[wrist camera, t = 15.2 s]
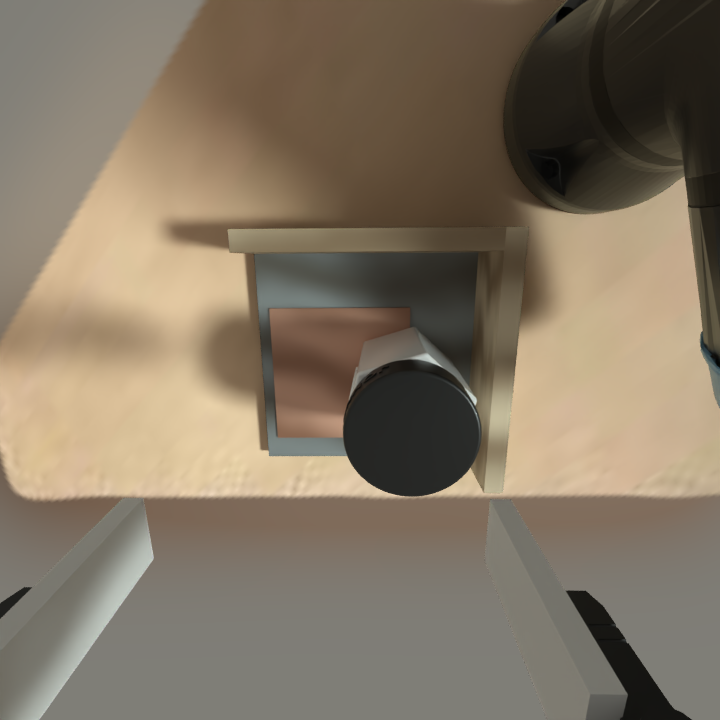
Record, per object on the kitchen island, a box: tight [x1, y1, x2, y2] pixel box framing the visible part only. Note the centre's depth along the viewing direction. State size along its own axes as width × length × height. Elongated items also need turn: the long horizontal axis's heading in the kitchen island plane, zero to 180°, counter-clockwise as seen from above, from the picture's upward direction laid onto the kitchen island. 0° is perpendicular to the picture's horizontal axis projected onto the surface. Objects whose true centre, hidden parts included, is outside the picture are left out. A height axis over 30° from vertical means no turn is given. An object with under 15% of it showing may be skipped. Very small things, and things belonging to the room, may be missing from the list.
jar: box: [343, 327, 482, 496], centre depth 28 cm, size 9×8×12 cm
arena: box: [228, 227, 529, 493], centre depth 31 cm, size 20×20×7 cm
